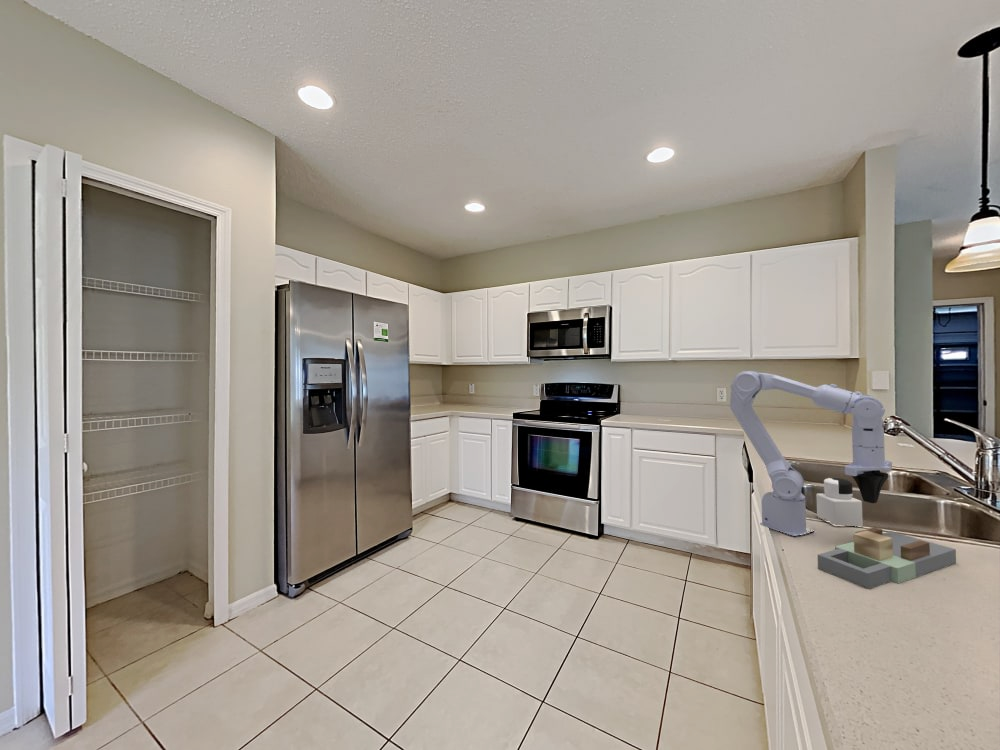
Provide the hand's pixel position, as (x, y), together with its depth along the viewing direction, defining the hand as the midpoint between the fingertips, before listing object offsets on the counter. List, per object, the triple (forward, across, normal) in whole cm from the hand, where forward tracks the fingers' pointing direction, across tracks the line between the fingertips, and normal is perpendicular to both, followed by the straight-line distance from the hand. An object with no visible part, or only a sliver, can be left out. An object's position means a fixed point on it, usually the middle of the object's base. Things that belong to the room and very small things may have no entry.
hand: (870, 501), depth 96 cm
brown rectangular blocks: (+7, -6, -7) cm, 12 cm away
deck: (+10, -9, -7) cm, 16 cm away
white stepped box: (+11, +9, +12) cm, 18 cm away
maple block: (+7, -13, -7) cm, 17 cm away
